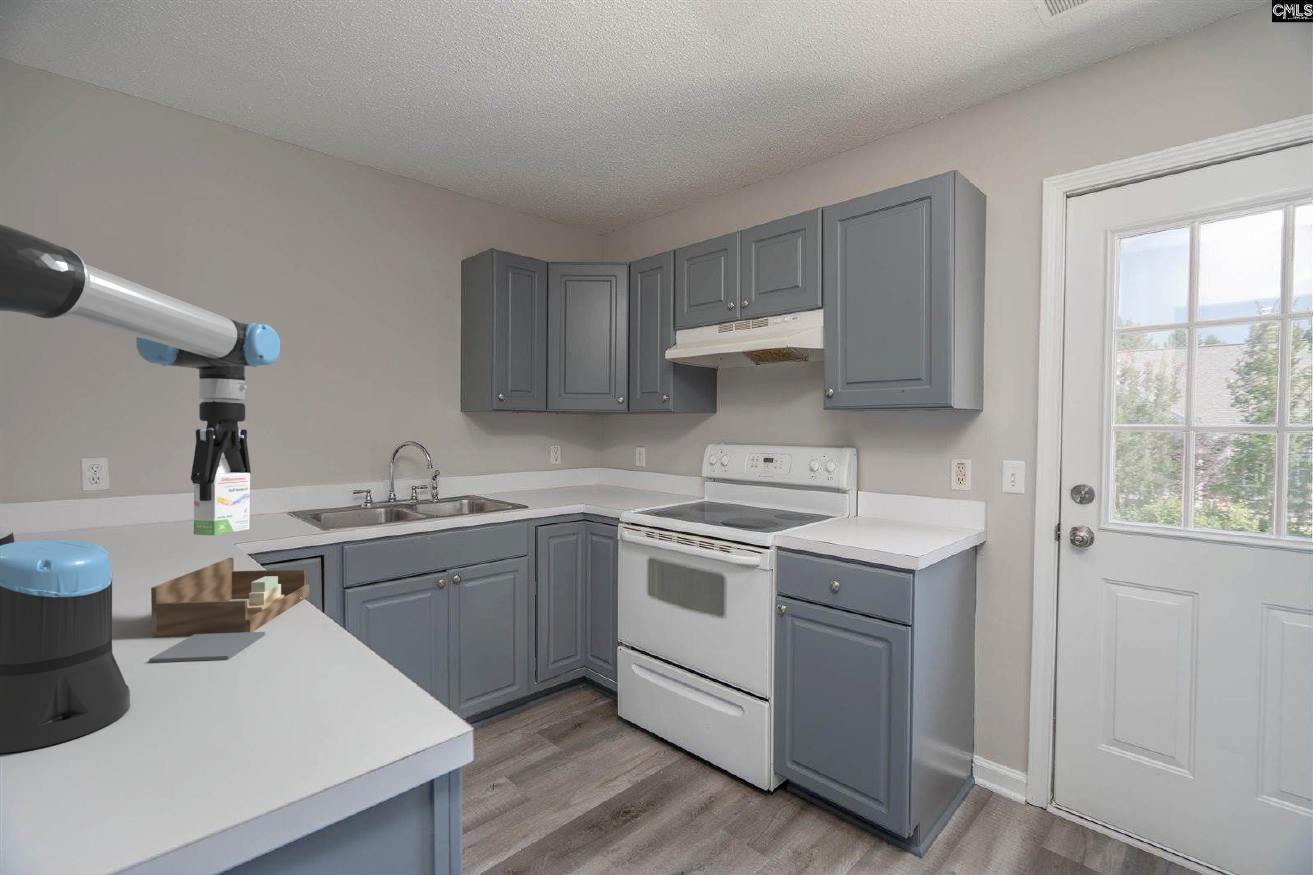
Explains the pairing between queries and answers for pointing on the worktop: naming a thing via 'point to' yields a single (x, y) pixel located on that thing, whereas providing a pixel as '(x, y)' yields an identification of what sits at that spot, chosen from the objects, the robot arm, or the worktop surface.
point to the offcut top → (264, 584)
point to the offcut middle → (264, 596)
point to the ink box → (226, 503)
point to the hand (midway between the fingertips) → (222, 514)
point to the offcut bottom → (260, 607)
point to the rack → (219, 600)
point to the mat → (208, 647)
